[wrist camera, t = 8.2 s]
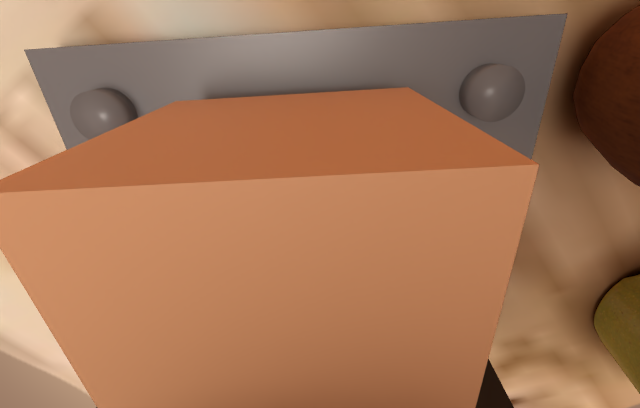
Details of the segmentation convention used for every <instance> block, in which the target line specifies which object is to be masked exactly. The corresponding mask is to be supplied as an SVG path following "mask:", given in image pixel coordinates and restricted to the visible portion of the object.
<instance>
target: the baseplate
mask: <svg viewBox="0 0 640 408" xmlns="http://www.w3.org/2000/svg"><path fill="white" fill-rule="evenodd" d="M567 14H568V13H566V14H551V15H536V16H521V17H506V18H491V19H476V20H462V21H447V22H432V23H417V24H402V25H387V26H372V27H357V28H342V29H327V30H312V31H297V32H282V33H268V34H253V35H238V36H223V37H208V38H193V39H178V40H163V41H148V42H133V43H118V44H103V45H88V46H74V47H59V48H44V49H29V50H24V51H25V53H26V55H27V58H28V60H29V62H30V65H31V67H32V69H33V72H34V74H35V76H36V79H37V81H38V83H39V86H40V88H41V90H42V93H43V95H44V97H45V100H46V102H47V104H48V107H49V109H50V111H51V114H52V116H53V118H54V121H55V123H56V125H57V128H58V130H59V132H60V135H61V137H62V139H63V142H64V144H65V146H66V149H67V150H68V149H70V148H72V147H75V146H77V145H79V144H81V143H84V142H86V141H88V140H90V139H92V138H95V137H97V136H99V135H101V134H104V133H106V132H108V131H110V130H113V129H115V128H117V127H119V126H121V125H124V124H126V123H128V122H130V121H133V120H135V119H137V118H139V117H141V116H144V115H146V114H148V113H150V112H153V111H155V110H157V109H159V108H162V107H164V106H166V105H168V104H170V103H173V102H175V101H187V100H203V99H220V98H237V97H253V96H270V95H287V94H304V93H320V92H337V91H354V90H371V89H387V88H404V87H409V88H410V89H412V90H414V91H415V92H417V93H419V94H420V95H422V96H424V97H426V98H427V99H429V100H431V101H432V102H434V103H436V104H437V105H439V106H441V107H443V108H444V109H446V110H448V111H449V112H451V113H453V114H454V115H456V116H458V117H460V118H461V119H463V120H465V121H466V122H468V123H470V124H471V125H473V126H475V127H477V128H478V129H480V130H482V131H483V132H485V133H487V134H488V135H490V136H492V137H493V138H495V139H497V140H499V141H500V142H502V143H504V144H505V145H507V146H509V147H510V148H512V149H514V150H516V151H517V152H519V153H521V154H522V155H524V156H526V157H527V158H529V159H532V155H533V151H534V147H535V143H536V139H537V135H538V131H539V127H540V123H541V119H542V115H543V110H544V106H545V102H546V98H547V94H548V90H549V86H550V82H551V78H552V74H553V70H554V66H555V62H556V58H557V54H558V50H559V46H560V42H561V38H562V34H563V30H564V26H565V22H566V18H567Z"/></svg>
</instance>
